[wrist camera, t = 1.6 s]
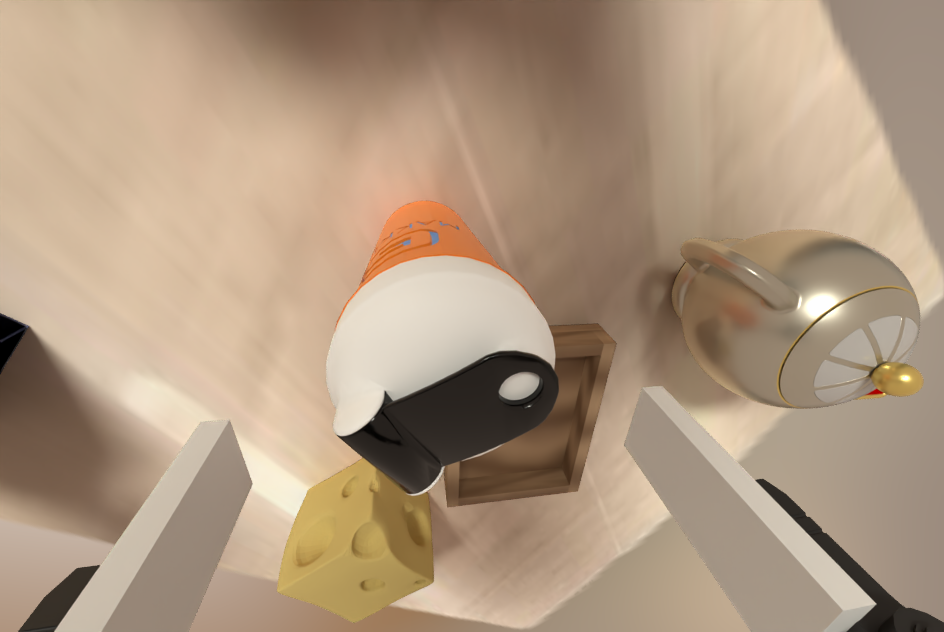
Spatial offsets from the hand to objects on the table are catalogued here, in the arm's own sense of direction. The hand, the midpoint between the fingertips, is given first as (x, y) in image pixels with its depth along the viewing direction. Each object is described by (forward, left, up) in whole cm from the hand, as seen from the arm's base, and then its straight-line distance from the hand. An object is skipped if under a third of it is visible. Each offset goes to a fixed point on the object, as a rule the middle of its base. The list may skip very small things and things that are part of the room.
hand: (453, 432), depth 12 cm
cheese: (+29, -7, -20) cm, 36 cm away
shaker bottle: (0, 0, -20) cm, 20 cm away
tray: (+18, +9, -20) cm, 28 cm away
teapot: (+3, +26, -20) cm, 33 cm away
